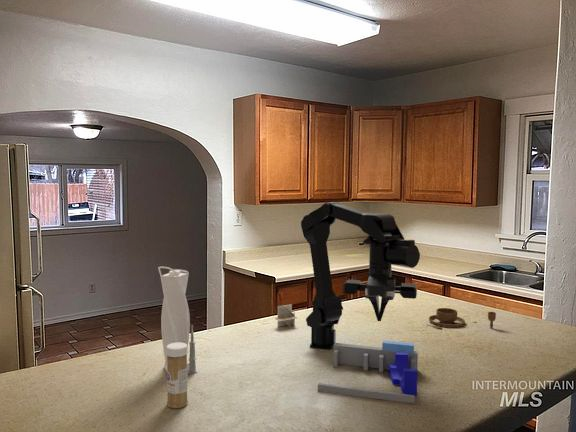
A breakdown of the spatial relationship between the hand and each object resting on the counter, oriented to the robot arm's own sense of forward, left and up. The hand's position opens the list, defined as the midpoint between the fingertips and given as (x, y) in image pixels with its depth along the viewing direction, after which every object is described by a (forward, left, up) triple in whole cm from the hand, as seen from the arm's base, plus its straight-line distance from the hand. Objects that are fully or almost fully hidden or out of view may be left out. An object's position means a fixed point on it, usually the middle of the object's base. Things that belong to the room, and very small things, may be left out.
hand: (379, 320), depth 128 cm
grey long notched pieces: (-1, -9, -12) cm, 15 cm away
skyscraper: (-50, -18, -13) cm, 55 cm away
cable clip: (+7, -9, -13) cm, 17 cm away
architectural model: (-34, +27, -13) cm, 45 cm away
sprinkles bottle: (-40, -35, -13) cm, 55 cm away
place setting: (+21, +45, -13) cm, 52 cm away
